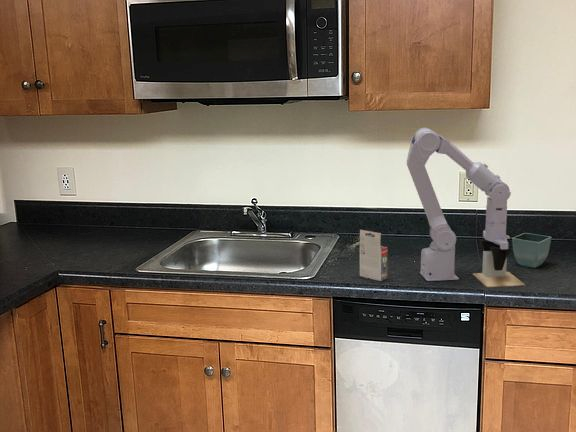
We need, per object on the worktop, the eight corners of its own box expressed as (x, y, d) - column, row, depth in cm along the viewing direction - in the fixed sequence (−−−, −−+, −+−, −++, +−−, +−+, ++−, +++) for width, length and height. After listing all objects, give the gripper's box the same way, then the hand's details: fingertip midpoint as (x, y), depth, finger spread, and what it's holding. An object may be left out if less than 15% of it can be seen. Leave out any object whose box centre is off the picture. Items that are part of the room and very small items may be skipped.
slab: (485, 277, 192) (486, 254, 190) (482, 274, 195) (483, 251, 193) (505, 276, 192) (507, 253, 191) (502, 273, 195) (503, 250, 194)
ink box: (366, 273, 199) (366, 226, 196) (388, 278, 194) (388, 230, 191) (359, 276, 197) (358, 229, 194) (380, 282, 191) (381, 233, 188)
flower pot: (509, 265, 203) (511, 237, 201) (523, 259, 209) (524, 232, 207) (537, 271, 197) (539, 242, 195) (550, 264, 203) (552, 236, 201)
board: (486, 287, 184) (487, 286, 184) (472, 274, 196) (472, 273, 196) (525, 285, 185) (525, 284, 185) (508, 272, 196) (508, 271, 196)
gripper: (519, 226, 183) (517, 273, 186) (499, 215, 197) (497, 258, 200) (495, 227, 183) (493, 274, 186) (476, 216, 197) (475, 260, 200)
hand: (493, 266), depth 193 cm, fingers open, 6 cm apart
